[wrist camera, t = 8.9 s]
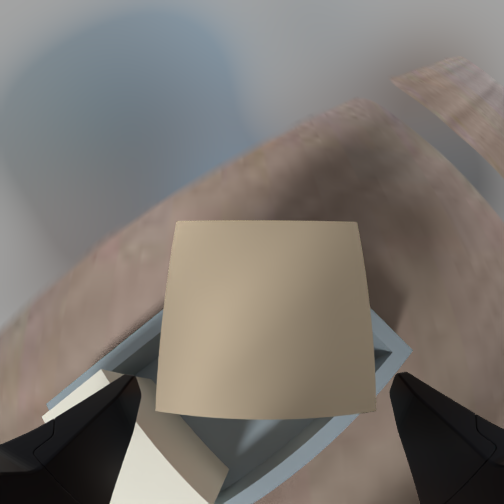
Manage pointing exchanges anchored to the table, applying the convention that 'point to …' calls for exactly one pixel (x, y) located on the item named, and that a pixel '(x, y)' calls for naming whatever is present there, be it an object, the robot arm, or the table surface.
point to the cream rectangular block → (157, 452)
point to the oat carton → (266, 322)
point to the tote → (249, 430)
